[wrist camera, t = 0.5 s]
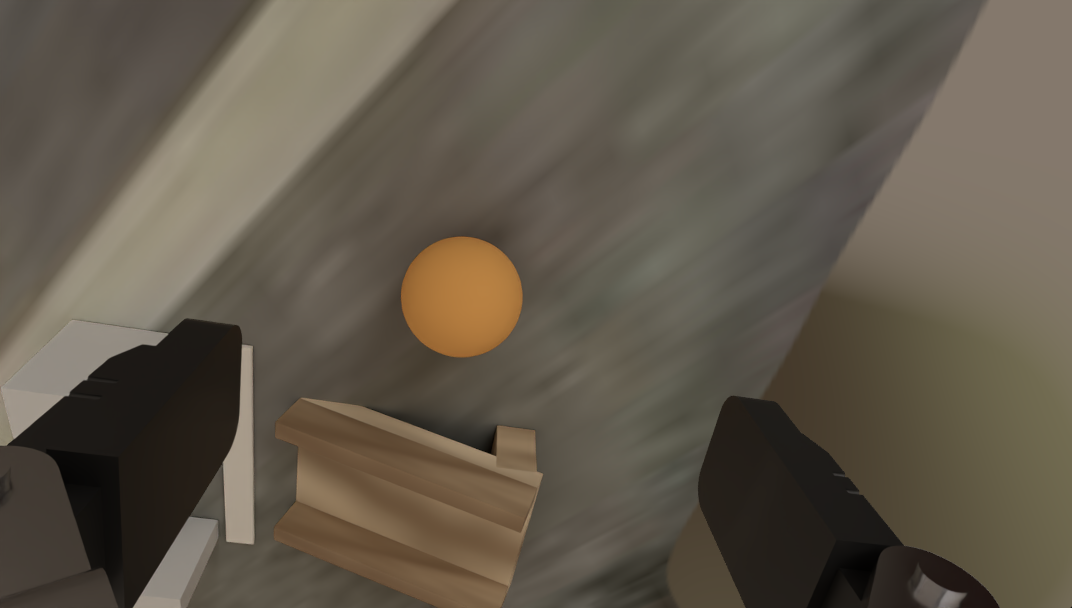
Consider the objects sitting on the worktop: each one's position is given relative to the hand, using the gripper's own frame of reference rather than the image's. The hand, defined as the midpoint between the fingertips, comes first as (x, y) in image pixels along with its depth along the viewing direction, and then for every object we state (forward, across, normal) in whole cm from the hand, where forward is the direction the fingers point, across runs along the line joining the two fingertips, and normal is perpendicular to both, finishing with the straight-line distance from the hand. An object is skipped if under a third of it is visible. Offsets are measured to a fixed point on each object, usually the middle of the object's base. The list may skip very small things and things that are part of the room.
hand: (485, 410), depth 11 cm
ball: (+16, 0, +4) cm, 17 cm away
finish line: (+21, +10, +17) cm, 29 cm away
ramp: (+21, +1, +17) cm, 27 cm away
